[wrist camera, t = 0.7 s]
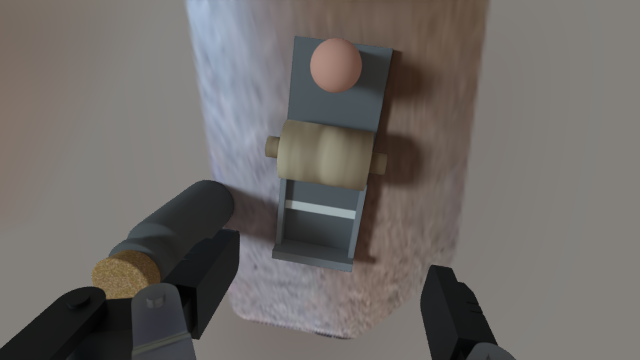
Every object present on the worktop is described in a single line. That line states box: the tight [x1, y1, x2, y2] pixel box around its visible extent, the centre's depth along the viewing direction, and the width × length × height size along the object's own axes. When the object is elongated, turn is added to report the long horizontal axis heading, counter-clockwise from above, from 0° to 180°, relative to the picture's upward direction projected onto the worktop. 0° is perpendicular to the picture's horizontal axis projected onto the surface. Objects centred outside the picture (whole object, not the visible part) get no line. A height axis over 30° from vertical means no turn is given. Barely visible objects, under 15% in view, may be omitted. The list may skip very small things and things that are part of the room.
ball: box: [310, 38, 362, 93], centre depth 24 cm, size 4×4×4 cm
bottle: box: [92, 180, 234, 299], centre depth 30 cm, size 6×6×15 cm
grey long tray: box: [272, 36, 393, 272], centre depth 32 cm, size 23×9×3 cm, turn 173°
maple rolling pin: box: [265, 119, 387, 191], centre depth 30 cm, size 11×6×6 cm, turn 83°
